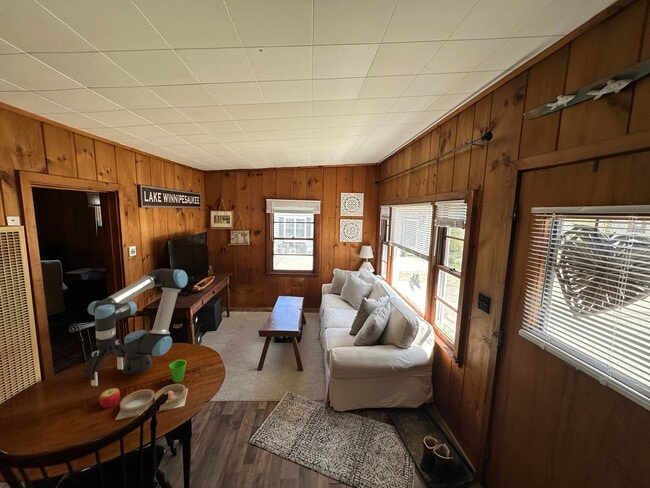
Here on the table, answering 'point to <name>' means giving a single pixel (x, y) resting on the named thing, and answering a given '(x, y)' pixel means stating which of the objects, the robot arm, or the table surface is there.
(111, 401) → the apple
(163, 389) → the ring
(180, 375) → the cup
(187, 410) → the table surface
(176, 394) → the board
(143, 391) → the ring
